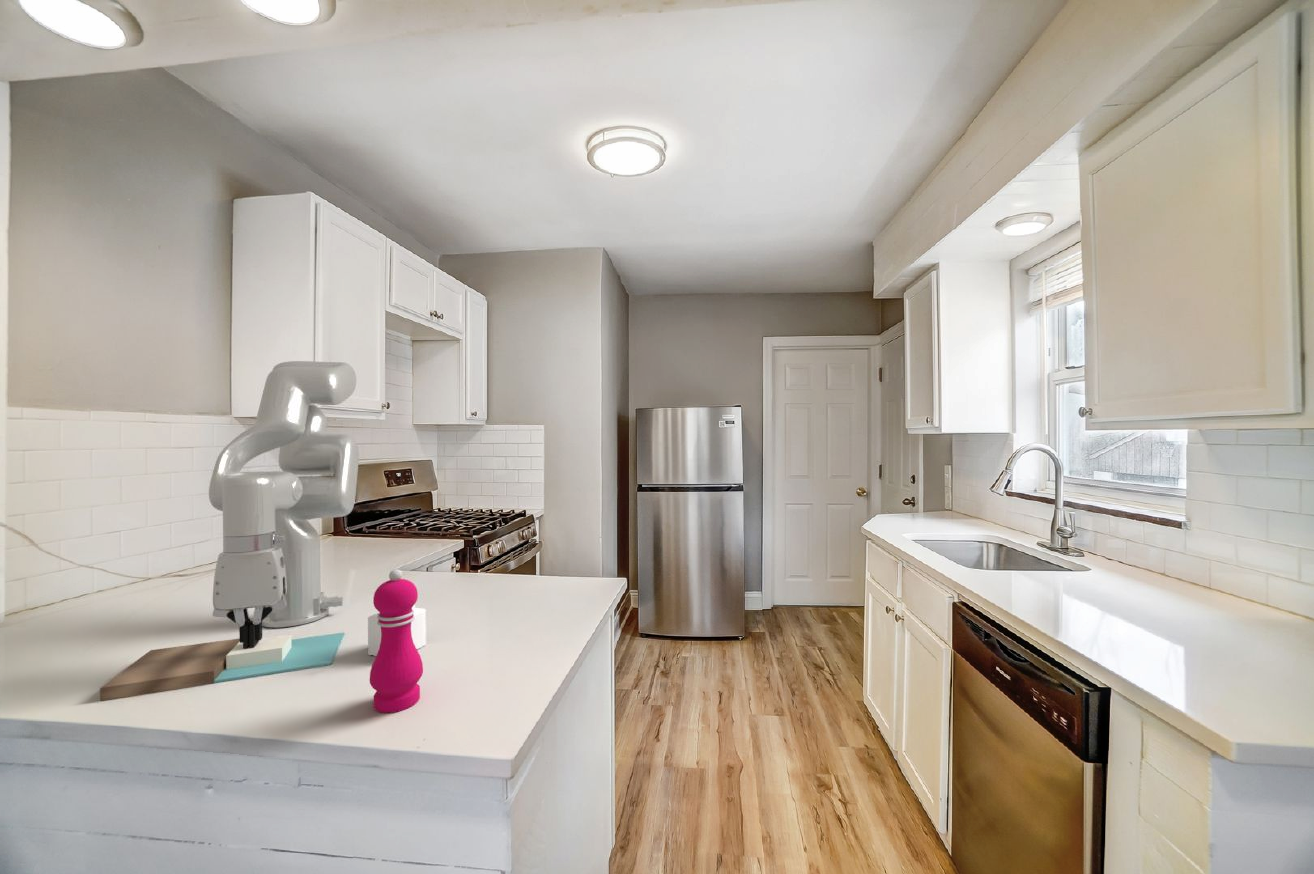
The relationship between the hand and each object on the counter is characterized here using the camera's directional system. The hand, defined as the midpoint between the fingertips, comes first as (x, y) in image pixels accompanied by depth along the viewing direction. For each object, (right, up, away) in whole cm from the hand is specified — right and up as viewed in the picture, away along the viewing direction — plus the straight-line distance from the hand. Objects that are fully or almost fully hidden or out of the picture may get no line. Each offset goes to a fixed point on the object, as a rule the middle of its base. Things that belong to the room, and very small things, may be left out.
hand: (251, 645), depth 95 cm
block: (+1, -1, 0) cm, 2 cm away
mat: (+5, -3, +2) cm, 6 cm away
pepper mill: (+34, -3, -16) cm, 38 cm away
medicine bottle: (+24, -3, +4) cm, 25 cm away
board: (-9, -3, -4) cm, 10 cm away
